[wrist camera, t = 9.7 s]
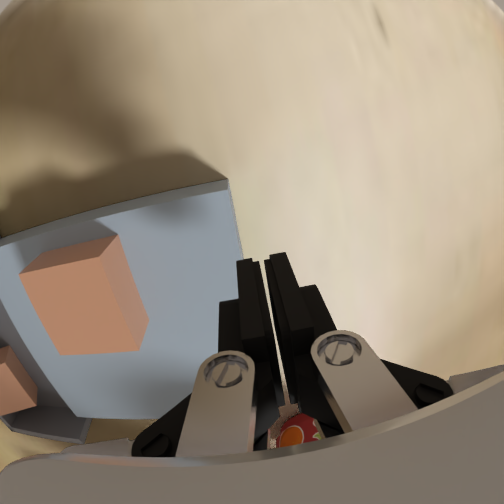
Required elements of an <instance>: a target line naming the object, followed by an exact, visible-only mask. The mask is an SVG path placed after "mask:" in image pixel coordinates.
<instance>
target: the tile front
mask: <svg viewBox="0 0 504 504" xmlns="http://www.w3.org/2000/svg"><path fill="white" fill-rule="evenodd" d="M18 275H19V277H20V280H21V282H22V284H23V286H24V288H25V291H26V293H27V295H28V297H29V299H30V301H31V303H32V305H33V307H34V309H35V311H36V313H37V315H38V317H39V319H40V321H41V322H42V324H43V326H44V328H45V330H46V332H47V333H48V335H49V337H50V339H51V340H52V342H53V344H54V345H55V347H56V349H57V351H58V352H59V354H60V355H83V354H102V353H117V352H129V351H139V350H140V347H141V344H142V341H143V338H144V335H145V332H146V329H147V326H148V323H149V318H148V315H147V313H146V310H145V308H144V305H143V303H142V300H141V298H140V295H139V292H138V290H137V287H136V284H135V282H134V279H133V276H132V273H131V271H130V268H129V265H128V262H127V259H126V256H125V253H124V250H123V247H122V244H121V241H120V238H119V235H113V236H109V237H104V238H100V239H96V240H91V241H87V242H83V243H79V244H75V245H70V246H66V247H62V248H58V249H54V250H50V251H46V252H43V253H41V254H40V255H39V256H38V257H36V258H35V259H34V260H33V261H32V262H31V263H30V264H29V265H28V266H27V267H25V268H24V269H23V270H22V271H21V272H20V273H19V274H18Z"/></svg>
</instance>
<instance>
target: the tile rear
mask: <svg viewBox="0 0 504 504" xmlns="http://www.w3.org/2000/svg"><path fill="white" fill-rule="evenodd" d="M37 390H38V387H37V386H36V384H35V383H34V381H33V380H32V379H31V377H30V376H29V374H28V373H27V371H26V370H25V368H24V367H23V365H22V364H21V362H20V361H19V359H18V358H17V356H16V355H15V353H14V351H13V350H12V348H11V347H10V345H8V346H6V347H3V348H0V416H2V415H6V414H9V413H13V412H17V411H20V410H24V409H27V408H31V407H34V406H37Z"/></svg>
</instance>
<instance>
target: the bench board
mask: <svg viewBox="0 0 504 504" xmlns="http://www.w3.org/2000/svg"><path fill="white" fill-rule="evenodd" d="M113 235H119V238H120V241H121V244H122V247H123V250H124V253H125V256H126V259H127V262H128V265H129V268H130V271H131V273H132V276H133V279H134V282H135V284H136V287H137V290H138V292H139V295H140V298H141V300H142V303H143V305H144V308H145V310H146V313H147V315H148V318H149V323H148V326H147V329H146V332H145V335H144V338H143V341H142V344H141V347H140V350H139V351H129V352H117V353H102V354H83V355H60V354H59V352H58V351H57V349H56V347H55V345H54V344H53V342H52V340H51V339H50V337H49V335H48V333H47V332H46V330H45V328H44V326H43V324H42V322H41V321H40V319H39V317H38V315H37V313H36V311H35V309H34V307H33V305H32V303H31V301H30V299H29V297H28V295H27V293H26V291H25V288H24V286H23V284H22V282H21V280H20V277H19V275H18V274H19V273H20V272H21V271H22V270H23V269H24V268H25V267H27V266H28V265H29V264H30V263H31V262H32V261H33V260H34V259H35V258H36V257H38V256H39V255H40V254H41V253H43V252H46V251H50V250H54V249H58V248H62V247H66V246H70V245H75V244H79V243H83V242H87V241H91V240H96V239H100V238H104V237H109V236H113ZM243 259H244V258H243V253H242V248H241V243H240V238H239V233H238V228H237V222H236V217H235V212H234V207H233V202H232V196H231V191H230V186H229V180H228V179H225V180H220V181H215V182H210V183H205V184H200V185H195V186H190V187H185V188H180V189H176V190H171V191H167V192H162V193H158V194H154V195H149V196H145V197H141V198H137V199H133V200H129V201H125V202H121V203H117V204H113V205H109V206H105V207H101V208H98V209H94V210H90V211H87V212H83V213H80V214H76V215H73V216H69V217H66V218H62V219H59V220H56V221H52V222H49V223H46V224H43V225H40V226H36V227H33V228H30V229H27V230H24V231H21V232H18V233H15V234H12V235H9V236H6V237H4V238H1V239H0V299H1V301H2V303H3V305H4V307H5V309H6V311H7V313H8V315H9V317H10V319H11V320H12V322H13V324H14V326H15V328H16V329H17V331H18V333H19V335H20V336H21V338H22V340H23V341H24V343H25V345H26V346H27V348H28V350H29V351H30V353H31V354H32V356H33V358H34V359H35V361H36V362H37V364H38V365H39V367H40V368H41V370H42V371H43V373H44V374H45V376H46V377H47V378H48V380H49V381H50V383H51V384H52V385H53V387H54V388H55V389H56V391H57V392H58V394H59V395H60V396H61V397H62V399H63V400H64V401H65V403H66V404H67V405H68V406H69V408H70V409H71V410H72V411H73V413H74V414H75V415H76V416H77V417H86V418H104V419H159V418H161V417H162V416H163V415H164V414H166V413H167V412H168V411H169V410H171V409H172V408H173V407H175V406H176V405H177V404H178V403H179V402H181V401H182V400H183V399H184V398H186V397H187V396H188V395H189V394H191V393H192V391H193V387H194V383H195V380H196V376H197V372H198V370H199V367H200V365H201V364H202V363H203V362H204V361H205V360H206V359H207V358H209V357H210V356H212V355H213V354H216V353H218V323H219V302H220V301H226V300H232V299H238V283H237V268H236V261H238V260H243Z"/></svg>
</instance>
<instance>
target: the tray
mask: <svg viewBox="0 0 504 504" xmlns="http://www.w3.org/2000/svg"><path fill="white" fill-rule="evenodd" d="M0 239H1V236H0ZM8 345H10V347H11V348H12V350H13V351H14V353H15V355H16V356H17V358H18V359H19V361H20V362H21V364H22V365H23V367H24V368H25V370H26V371H27V373H28V374H29V376H30V377H31V379H32V380H33V381H34V383H35V384H36V386H37V387H38V390H37V406H34V407H31V408H27V409H24V410H20V411H17V412H13V413H9V414H6V415H2V416H0V419H1V420H2V421H3V422H4V423H5V425H6V426H7V427H8V428H9V429H10V430H11V431H14V432H18V433H22V434H26V435H31V436H36V437H41V438H46V439H51V440H57V441H63V442H70V443H77V444H84V443H85V440H86V436H87V433H88V430H89V427H90V424H91V421H92V418H86V417H77V416H76V415H75V414H74V413H73V411H72V410H71V409H70V408H69V406H68V405H67V404H66V403H65V401H64V400H63V399H62V397H61V396H60V395H59V394H58V392H57V391H56V389H55V388H54V387H53V385H52V384H51V383H50V381H49V380H48V378H47V377H46V376H45V374H44V373H43V371H42V370H41V368H40V367H39V365H38V364H37V362H36V361H35V359H34V358H33V356H32V354H31V353H30V351H29V350H28V348H27V346H26V345H25V343H24V341H23V340H22V338H21V336H20V335H19V333H18V331H17V329H16V328H15V326H14V324H13V322H12V320H11V319H10V317H9V315H8V313H7V311H6V309H5V307H4V305H3V303H2V301H1V299H0V348H3V347H6V346H8Z"/></svg>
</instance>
